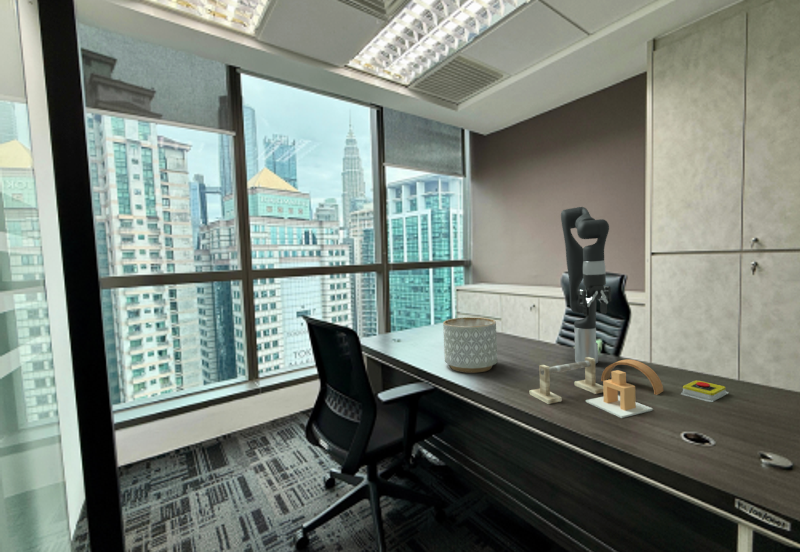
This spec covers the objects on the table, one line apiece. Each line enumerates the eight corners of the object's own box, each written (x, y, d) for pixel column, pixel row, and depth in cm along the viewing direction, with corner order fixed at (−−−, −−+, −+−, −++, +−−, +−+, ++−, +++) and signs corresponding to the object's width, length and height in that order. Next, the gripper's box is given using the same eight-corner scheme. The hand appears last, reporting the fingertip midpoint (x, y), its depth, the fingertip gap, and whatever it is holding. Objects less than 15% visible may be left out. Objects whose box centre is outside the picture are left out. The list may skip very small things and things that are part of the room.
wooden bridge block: (614, 399, 125) (613, 367, 125) (635, 407, 117) (635, 374, 117) (603, 401, 123) (602, 369, 123) (624, 410, 116) (623, 376, 115)
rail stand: (586, 383, 143) (585, 354, 143) (607, 391, 134) (606, 360, 133) (529, 394, 135) (528, 363, 134) (548, 404, 125) (547, 371, 124)
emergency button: (679, 383, 128) (698, 375, 135) (679, 395, 128) (698, 386, 136) (711, 391, 120) (729, 382, 127) (711, 403, 120) (729, 394, 128)
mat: (614, 395, 130) (614, 393, 130) (652, 410, 116) (652, 408, 116) (585, 401, 125) (585, 400, 125) (621, 418, 112) (621, 416, 112)
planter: (435, 364, 178) (433, 321, 177) (474, 356, 190) (472, 315, 189) (466, 378, 156) (464, 329, 155) (508, 368, 167) (507, 321, 166)
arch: (656, 395, 128) (656, 368, 128) (601, 381, 145) (600, 357, 145) (663, 391, 132) (663, 365, 131) (608, 378, 148) (607, 354, 148)
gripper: (599, 270, 139) (600, 311, 140) (571, 274, 134) (573, 315, 135) (616, 271, 132) (617, 313, 133) (588, 274, 127) (589, 318, 128)
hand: (595, 314), depth 134 cm, fingers open, 8 cm apart
